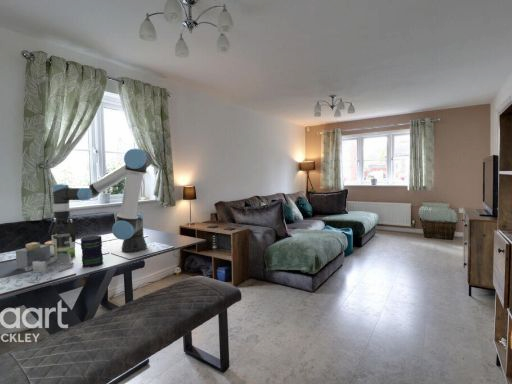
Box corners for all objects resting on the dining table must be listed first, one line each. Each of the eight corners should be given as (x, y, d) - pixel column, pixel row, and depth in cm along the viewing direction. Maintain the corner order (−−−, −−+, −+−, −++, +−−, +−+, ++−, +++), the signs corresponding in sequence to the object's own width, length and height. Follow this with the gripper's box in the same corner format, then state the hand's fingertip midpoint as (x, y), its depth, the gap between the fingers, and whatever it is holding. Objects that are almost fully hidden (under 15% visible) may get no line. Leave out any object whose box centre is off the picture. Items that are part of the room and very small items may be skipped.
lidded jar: (49, 257, 163) (48, 242, 162) (42, 254, 169) (41, 239, 168) (69, 252, 172) (68, 238, 171) (61, 250, 178) (60, 236, 177)
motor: (52, 274, 135) (50, 249, 134) (11, 269, 143) (9, 246, 142) (78, 264, 149) (77, 242, 148) (40, 260, 157) (38, 239, 156)
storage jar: (100, 266, 145) (98, 239, 144) (79, 268, 142) (77, 240, 141) (105, 260, 155) (103, 235, 153) (85, 262, 152) (83, 236, 151)
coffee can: (79, 256, 164) (78, 233, 163) (64, 261, 154) (63, 237, 153) (65, 255, 166) (64, 232, 165) (49, 260, 156) (48, 236, 155)
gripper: (84, 210, 158) (86, 246, 160) (52, 208, 165) (54, 243, 167) (72, 212, 151) (74, 249, 153) (39, 210, 158) (41, 246, 160)
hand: (63, 246), depth 160 cm, fingers open, 13 cm apart
